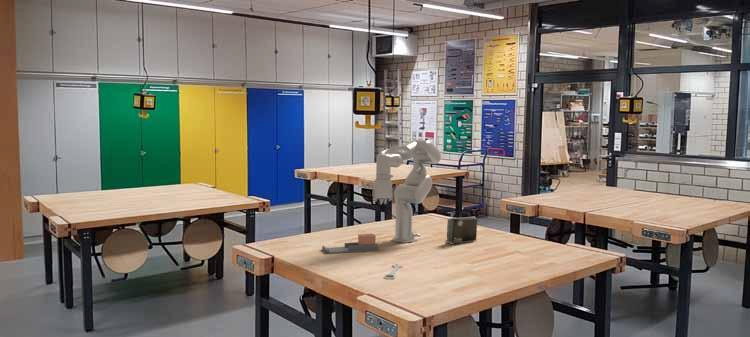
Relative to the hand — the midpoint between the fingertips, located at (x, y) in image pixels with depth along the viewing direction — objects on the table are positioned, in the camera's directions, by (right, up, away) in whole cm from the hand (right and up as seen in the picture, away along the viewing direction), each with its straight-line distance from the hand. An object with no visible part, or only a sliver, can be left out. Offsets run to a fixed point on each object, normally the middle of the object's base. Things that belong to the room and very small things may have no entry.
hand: (382, 211), depth 312 cm
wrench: (+5, -25, -46) cm, 52 cm away
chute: (-17, -20, -5) cm, 27 cm away
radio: (+45, -19, +21) cm, 53 cm away
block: (-8, -19, -2) cm, 21 cm away
